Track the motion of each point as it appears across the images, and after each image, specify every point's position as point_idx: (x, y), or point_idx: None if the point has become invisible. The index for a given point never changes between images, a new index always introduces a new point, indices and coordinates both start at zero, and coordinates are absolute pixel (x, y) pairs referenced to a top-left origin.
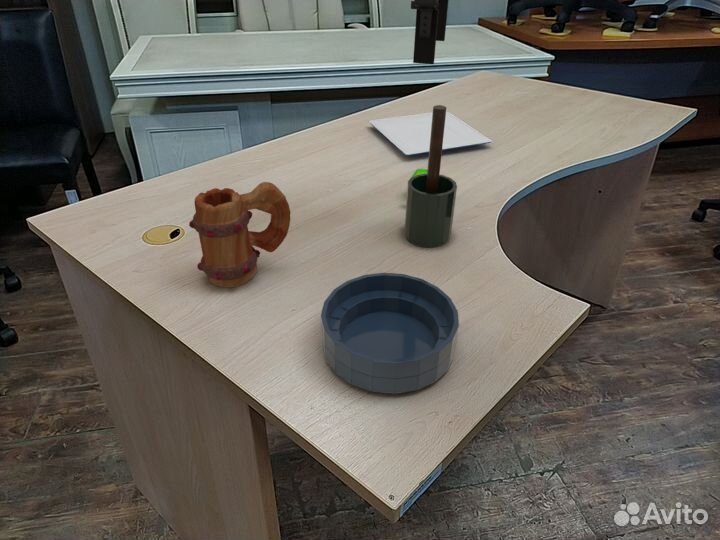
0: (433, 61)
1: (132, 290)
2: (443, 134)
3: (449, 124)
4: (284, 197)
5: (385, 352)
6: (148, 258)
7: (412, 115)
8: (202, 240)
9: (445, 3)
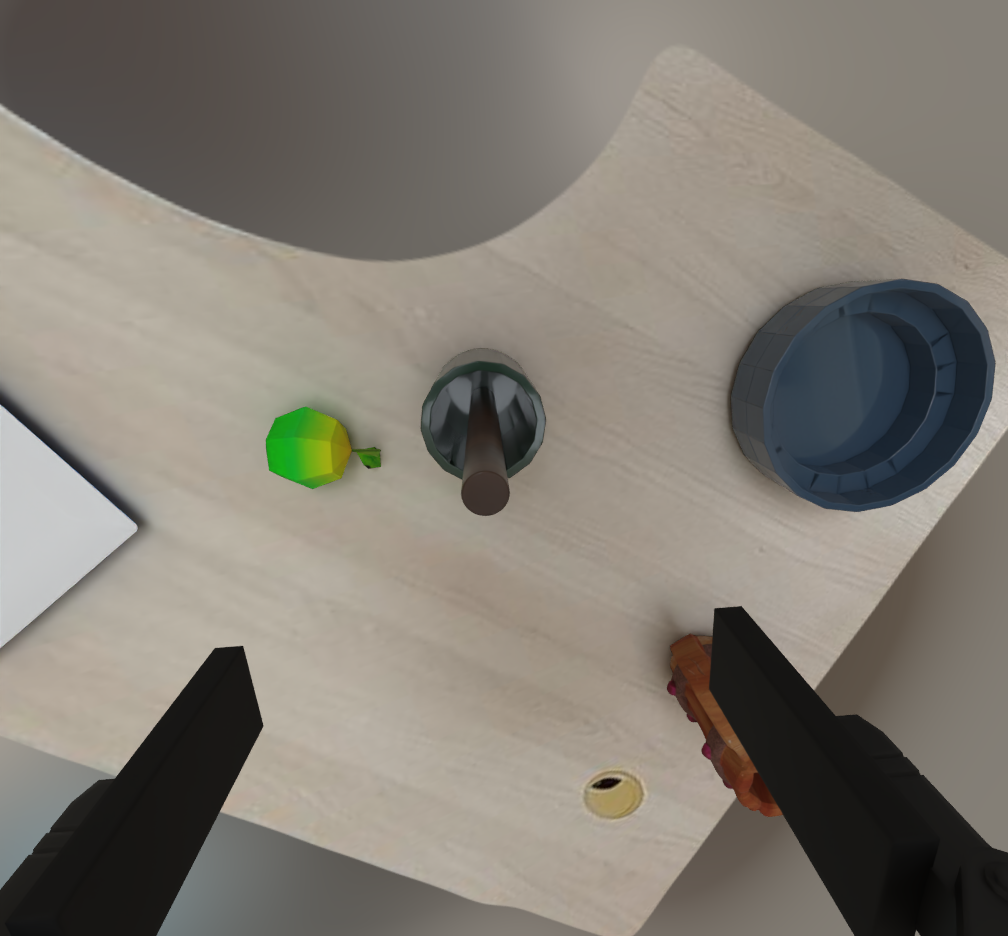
0: (747, 614)
1: None
2: (487, 444)
3: None
4: None
5: (855, 390)
6: (678, 780)
7: None
8: None
9: (117, 846)
